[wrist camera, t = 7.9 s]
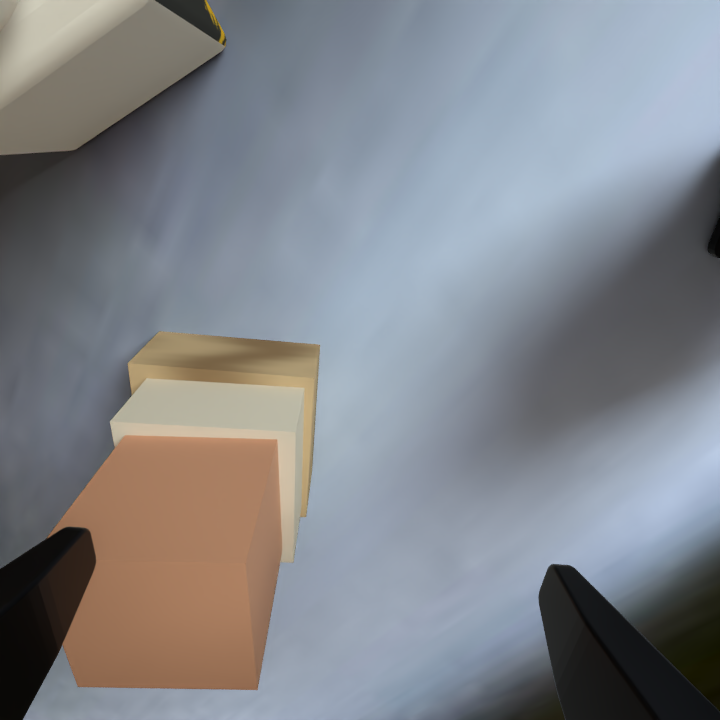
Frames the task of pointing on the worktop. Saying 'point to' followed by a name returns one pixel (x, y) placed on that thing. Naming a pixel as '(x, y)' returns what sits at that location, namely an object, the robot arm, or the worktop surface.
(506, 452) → the worktop surface
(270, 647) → the worktop surface
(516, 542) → the worktop surface
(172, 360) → the oak base block
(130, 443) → the terracotta block
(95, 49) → the medicine bottle
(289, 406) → the cream block
